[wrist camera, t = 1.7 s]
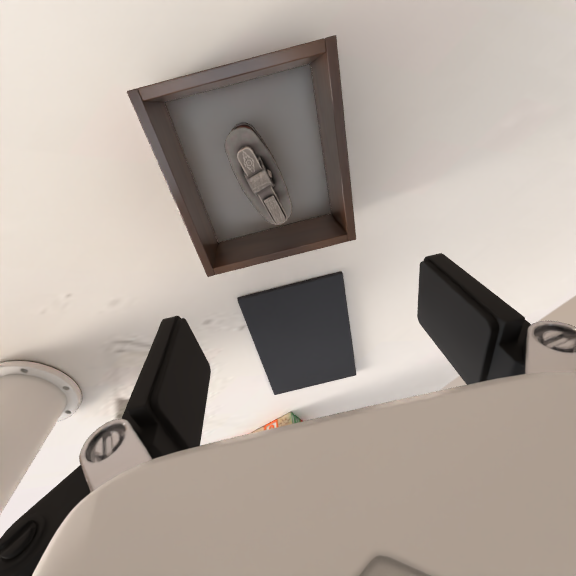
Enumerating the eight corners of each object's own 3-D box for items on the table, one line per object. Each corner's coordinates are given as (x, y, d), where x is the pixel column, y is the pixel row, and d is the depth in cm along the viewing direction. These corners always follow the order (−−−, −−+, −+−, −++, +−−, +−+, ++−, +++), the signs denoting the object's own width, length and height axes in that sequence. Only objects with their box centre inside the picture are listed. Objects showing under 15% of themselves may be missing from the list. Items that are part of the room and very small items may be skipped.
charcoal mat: (274, 392, 49) (274, 395, 48) (237, 297, 38) (237, 299, 38) (355, 372, 49) (356, 375, 48) (341, 271, 38) (342, 273, 37)
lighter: (221, 134, 28) (210, 145, 20) (252, 115, 27) (253, 119, 19) (263, 206, 32) (268, 242, 24) (290, 191, 32) (305, 222, 23)
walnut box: (214, 249, 34) (207, 277, 29) (152, 94, 26) (126, 91, 20) (338, 218, 34) (356, 239, 28) (317, 50, 25) (336, 34, 20)
